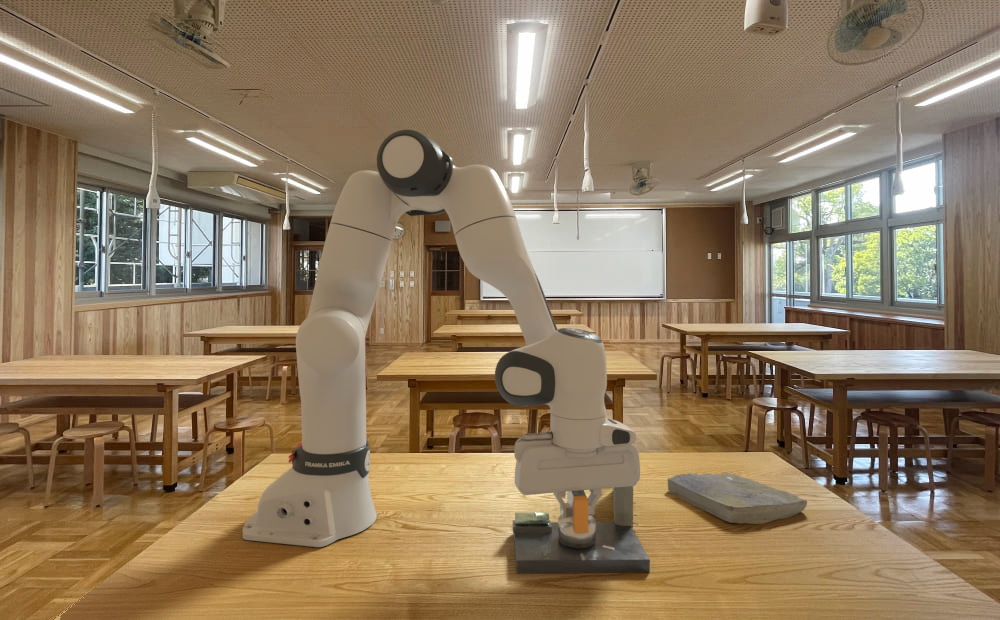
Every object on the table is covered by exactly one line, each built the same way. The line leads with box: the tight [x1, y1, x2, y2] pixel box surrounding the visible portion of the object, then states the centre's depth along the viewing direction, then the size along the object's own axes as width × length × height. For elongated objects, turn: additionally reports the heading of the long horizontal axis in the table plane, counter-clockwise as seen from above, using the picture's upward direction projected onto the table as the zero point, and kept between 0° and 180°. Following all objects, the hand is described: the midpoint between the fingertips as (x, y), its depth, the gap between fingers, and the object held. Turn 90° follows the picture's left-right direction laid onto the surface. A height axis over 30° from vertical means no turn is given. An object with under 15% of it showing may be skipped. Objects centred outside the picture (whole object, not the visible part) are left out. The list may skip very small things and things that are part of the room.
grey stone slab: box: [667, 472, 808, 525], centre depth 102 cm, size 20×5×17 cm
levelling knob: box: [557, 490, 597, 548], centre depth 83 cm, size 8×6×8 cm
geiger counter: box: [612, 484, 639, 530], centre depth 100 cm, size 14×6×25 cm
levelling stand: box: [512, 511, 651, 574], centre depth 83 cm, size 20×12×5 cm, turn 91°
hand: (577, 515), depth 83 cm, fingers closed on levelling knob, 2 cm apart
